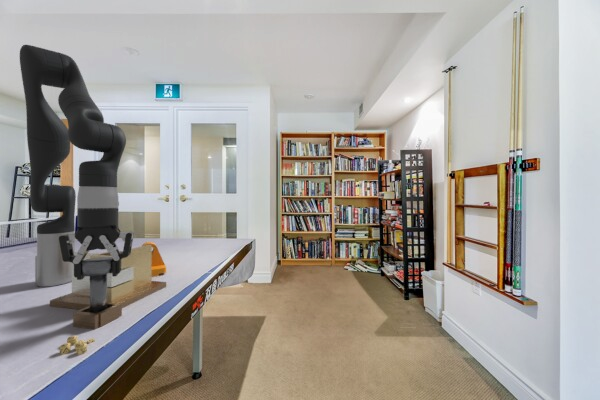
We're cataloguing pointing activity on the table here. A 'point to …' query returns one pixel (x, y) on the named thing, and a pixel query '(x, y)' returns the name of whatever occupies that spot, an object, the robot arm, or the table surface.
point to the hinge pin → (97, 281)
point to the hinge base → (114, 291)
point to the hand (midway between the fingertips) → (98, 276)
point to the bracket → (156, 261)
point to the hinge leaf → (122, 277)
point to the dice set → (79, 345)
